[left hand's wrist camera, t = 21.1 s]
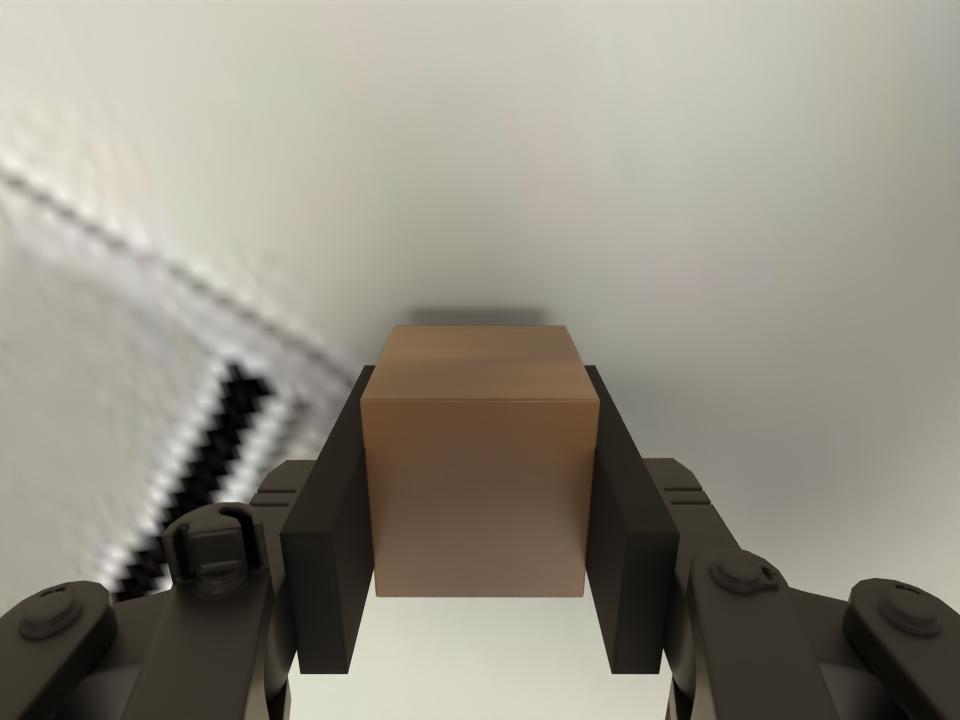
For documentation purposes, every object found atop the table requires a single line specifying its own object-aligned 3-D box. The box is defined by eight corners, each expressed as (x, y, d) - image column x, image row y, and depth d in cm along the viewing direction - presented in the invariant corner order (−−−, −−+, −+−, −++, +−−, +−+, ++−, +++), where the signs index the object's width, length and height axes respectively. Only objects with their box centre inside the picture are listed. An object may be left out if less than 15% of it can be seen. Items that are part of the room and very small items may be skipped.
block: (566, 325, 14) (600, 399, 10) (556, 480, 16) (584, 598, 12) (393, 325, 14) (359, 399, 10) (402, 480, 16) (375, 598, 12)
